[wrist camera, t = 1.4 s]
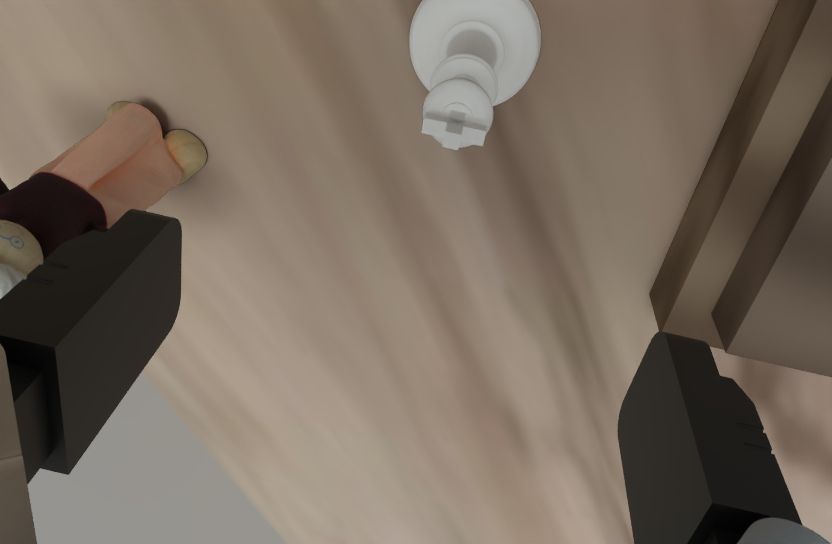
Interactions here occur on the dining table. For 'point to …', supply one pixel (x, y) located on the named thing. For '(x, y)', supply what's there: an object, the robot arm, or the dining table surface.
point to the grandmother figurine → (92, 187)
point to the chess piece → (471, 62)
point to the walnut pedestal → (764, 210)
